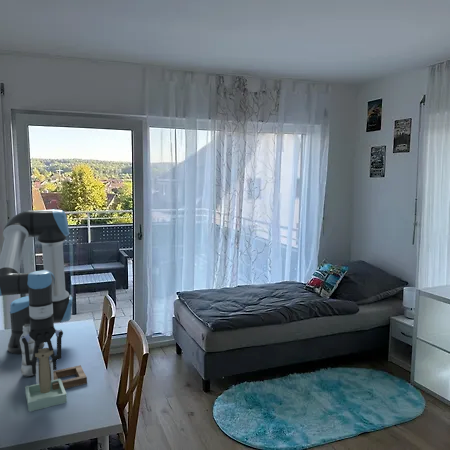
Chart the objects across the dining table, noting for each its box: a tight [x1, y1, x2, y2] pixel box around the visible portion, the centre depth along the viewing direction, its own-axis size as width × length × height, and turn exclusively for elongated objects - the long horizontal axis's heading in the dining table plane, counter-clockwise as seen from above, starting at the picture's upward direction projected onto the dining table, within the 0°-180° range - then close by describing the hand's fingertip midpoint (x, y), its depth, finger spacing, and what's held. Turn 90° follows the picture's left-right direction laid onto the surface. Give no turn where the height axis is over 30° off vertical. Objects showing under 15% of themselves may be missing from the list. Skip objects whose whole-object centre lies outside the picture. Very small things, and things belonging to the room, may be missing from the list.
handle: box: [33, 347, 54, 393], centre depth 147 cm, size 5×6×15 cm
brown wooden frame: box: [52, 364, 88, 390], centre depth 161 cm, size 12×12×2 cm
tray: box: [24, 378, 68, 413], centre depth 148 cm, size 13×12×3 cm
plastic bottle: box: [20, 324, 39, 377], centre depth 165 cm, size 6×7×20 cm
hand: (44, 380), depth 147 cm, fingers closed on handle, 4 cm apart
